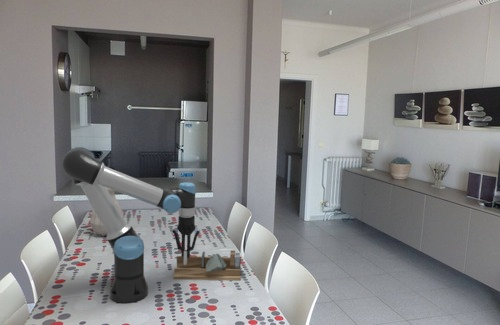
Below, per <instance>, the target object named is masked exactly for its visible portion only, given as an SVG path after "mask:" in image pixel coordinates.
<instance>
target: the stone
mask: <svg viewBox="0 0 500 325" xmlns="http://www.w3.org/2000/svg"><path fill="white" fill-rule="evenodd" d="M210 257H211V258H210V259H209V260H208V262H207V264H206V271H207V272H213V271H217V270H223V269H224V268H225V267H226V263H225V262H224V260H223V259H222V257H223V256H221V255H220V254H219V253H216V254H214V253H213V254H212V255H211V256H210Z"/></svg>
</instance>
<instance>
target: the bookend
mask: <svg viewBox="0 0 500 325" xmlns="http://www.w3.org/2000/svg"><path fill="white" fill-rule="evenodd" d="M201 257H202V268H205V257H206V251H202V254H201Z"/></svg>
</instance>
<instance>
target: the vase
mask: <svg viewBox="0 0 500 325" xmlns="http://www.w3.org/2000/svg"><path fill="white" fill-rule="evenodd" d="M106 188H107V187H106ZM107 190H108V192H109V194H110V195H111V197H112V199H113V201H114V203H115V204H116V206H117V208H118V210H119V212H120V213H121V215H122V217H123V219H124V220H125V218H124V215H123V210H122V208H121V206H120V203H119V202H118V200H117V198H116V195H115V194H116V191H115V190H112V189H109V188H107ZM89 222H90V223H89V224H90V226H91V228H92V230H93V232H94V233H96V234H98V235H99V236H107V234H108V233H107V231H106V229H105V228H104V226H103V224H102V222H101V221H100V219H99V217H98V215H97V214H96V212H95V210H94V209H93V208H92V211H91V216H90V220H89Z"/></svg>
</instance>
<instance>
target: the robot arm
mask: <svg viewBox="0 0 500 325" xmlns="http://www.w3.org/2000/svg"><path fill="white" fill-rule="evenodd" d="M93 153H94V152H92V151H91V150H90V149H88V148H86V147H83V146H79V147H78V146H77V147H73V148H71V149H70V150H68V151H67V152H66V153H65V155H64V156H63V158H62V162H61V166H62V170H63V172H64V173H65V175H66V176H68V177H69V178H71V180H72V182H73V184H74V185H76V186H78V187H79V186H80V188H81V190H82V191H83V193H84V195H85V197H86V198H87V200H88V201H89V203H90V205H91V207H92V210H93V209H94V210H95V212H96V214H97V215H98V217H99V219H100V221H101V222H102V224H103V226H104V228H105V229H106V231H107V233H108V234H107V235H106V240H107V242H108V244H109V246H110V248H112V251H113V256H114V257H113V258H114V263H113V264H114V279H113V282H112V285H111V288H110V293H109V294H110V295H109V297H110V299H111V300H112V301H114V302H117V303H126V304H127V303H133V302H134V303H135V302H137V301H140V300H143V299H144V298H146V297H147V296H148V294H149V286H148V283H147V279H146V277H145V273H144V272H145V271H144V270H145V269H144V267H145V254H144V252H145V245H144V240H143V239H142V237H139V234H137V232H136V231H135V229H134V227H133V225H131V224H130V223H127V222H126V221H125V218H124V216H123V217H122V215H123V214H122V215H121V213H120V212H119V210H118V208H117V206H116V204H115V203H114V201H113V199H112V197H111V195H110V194H109V192H108V190H107V188H109V189H112V190H115V192H117V193H119V194H122V195H123V194H124V195H125V196H129V197H131V198H134V199H137V200H139V201H142V202H144V203H147V204H150V205H153V206H155V207H157V208H159V209H162V210H164V211H165V212H166V213H169V214H176V213H177V212H178V224H177V227H175V228H174V229H173V230H172V233H173V235H174V239H175V242H176V247H177V250H178V251H181V255H180V256H181V257H183V258H184V265H187V262H188V258H189V257H190V256H191V251H193V250H194V249H195V245H196V243H197V242H196V241H197V238H198V235H199V234H200V233H201V230H200V229H197V228H196V225H195V221H196V220H195V218H196V215H195V213H196V185H195V184H194V183H193V182H187V181H186V182H180V183H179V185H178V187H158V186H155V185H153V184H151V183H147V182H145V181H142V180H140V179H138V178H136V177H133V176H130V175H128V174H126V173H123V172H121V171H118V170H115V169H112V168H110V167H108V166H106V165H105V163H104V162H103V161H101V160H98V159H97V158H95V154H93ZM106 187H107V188H106ZM123 218H124V219H123ZM193 232H194V237H193V240H192V244H191V235H192V234H193ZM179 233H180V234H181V240H180V236H179Z"/></svg>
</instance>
